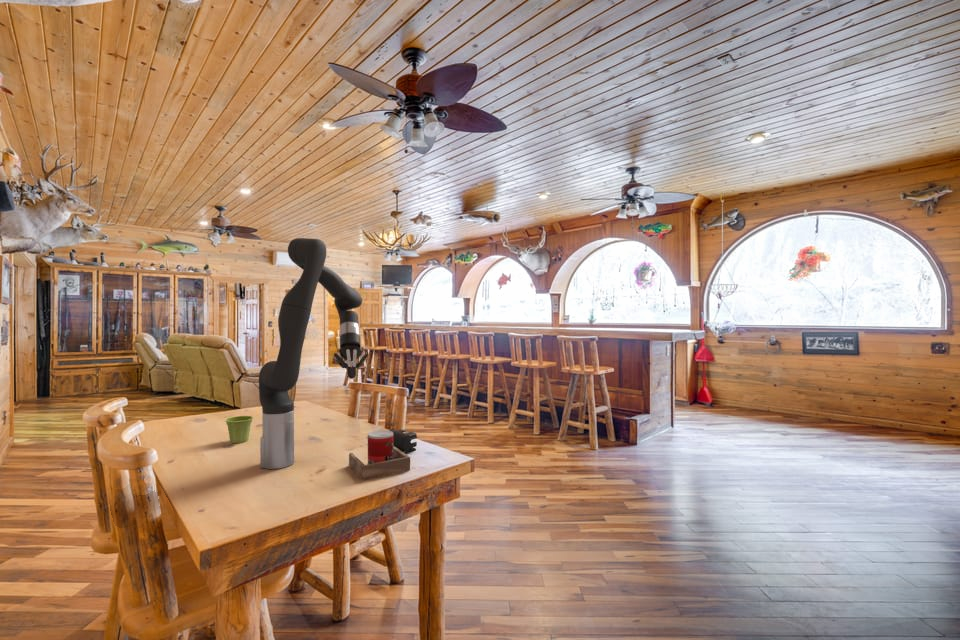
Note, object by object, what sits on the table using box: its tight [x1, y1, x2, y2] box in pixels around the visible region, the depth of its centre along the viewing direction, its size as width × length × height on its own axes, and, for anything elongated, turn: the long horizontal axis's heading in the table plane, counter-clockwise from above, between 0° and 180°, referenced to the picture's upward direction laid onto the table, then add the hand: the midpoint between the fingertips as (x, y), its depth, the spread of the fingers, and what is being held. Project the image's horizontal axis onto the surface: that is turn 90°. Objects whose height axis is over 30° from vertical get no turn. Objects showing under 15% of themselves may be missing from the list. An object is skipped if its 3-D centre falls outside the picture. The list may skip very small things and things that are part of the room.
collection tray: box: [348, 446, 411, 481], centre depth 136 cm, size 14×15×4 cm
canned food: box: [367, 429, 393, 464], centre depth 136 cm, size 8×8×11 cm
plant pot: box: [224, 415, 254, 444], centre depth 163 cm, size 9×9×9 cm
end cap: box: [388, 429, 418, 454], centre depth 153 cm, size 10×7×7 cm
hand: (351, 377), depth 155 cm, fingers closed
